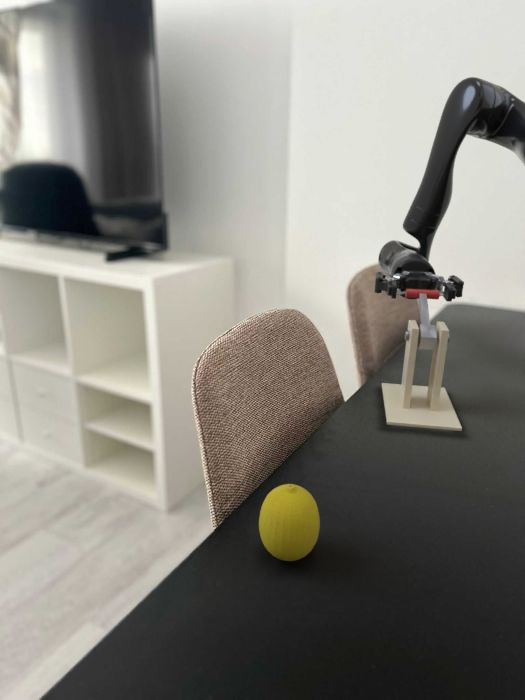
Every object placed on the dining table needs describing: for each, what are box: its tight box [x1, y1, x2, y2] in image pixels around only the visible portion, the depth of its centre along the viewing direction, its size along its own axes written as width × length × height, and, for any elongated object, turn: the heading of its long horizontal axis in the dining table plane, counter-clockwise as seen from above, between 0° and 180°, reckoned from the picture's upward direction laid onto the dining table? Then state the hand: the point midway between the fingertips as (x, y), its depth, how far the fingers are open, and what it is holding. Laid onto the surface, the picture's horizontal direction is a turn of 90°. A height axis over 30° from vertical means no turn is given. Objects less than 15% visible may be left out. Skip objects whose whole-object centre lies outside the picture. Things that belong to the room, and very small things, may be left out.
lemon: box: [258, 483, 321, 562], centre depth 47 cm, size 6×6×8 cm
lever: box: [405, 289, 440, 351], centre depth 77 cm, size 12×5×2 cm, turn 171°
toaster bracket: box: [381, 319, 463, 432], centre depth 75 cm, size 14×10×14 cm
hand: (422, 293), depth 81 cm, fingers open, 8 cm apart
